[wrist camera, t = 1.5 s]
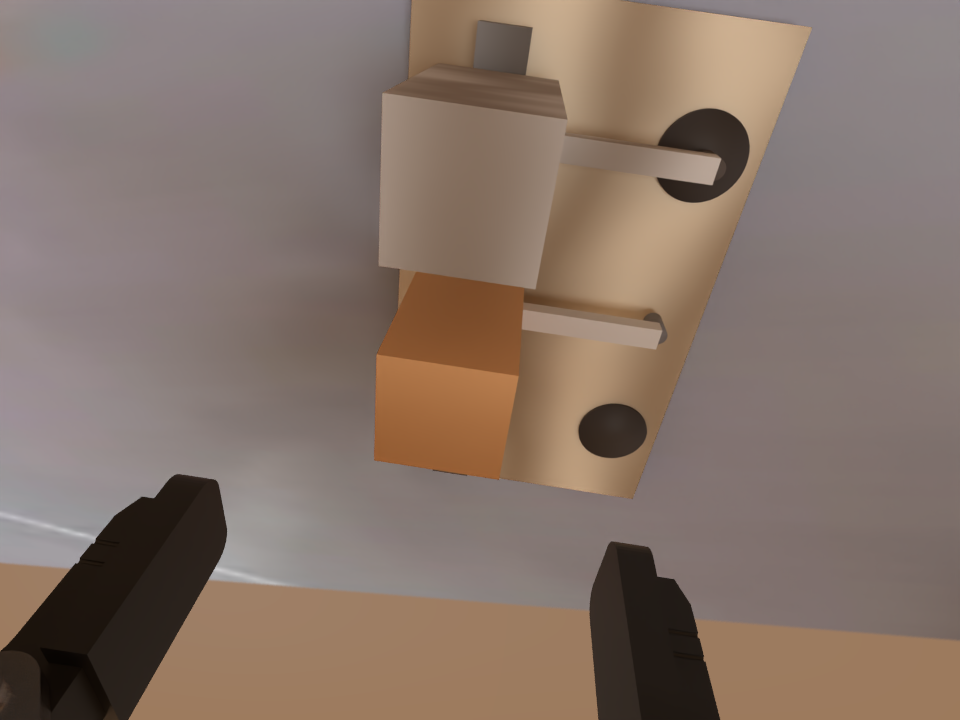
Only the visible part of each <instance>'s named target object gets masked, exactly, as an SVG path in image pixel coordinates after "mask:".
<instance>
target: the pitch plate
mask: <svg viewBox="0 0 960 720" xmlns="http://www.w3.org/2000/svg"><path fill="white" fill-rule="evenodd" d="M811 29H812V27H805V26H798V25H791V24H783V23H776V22H769V21H762V20H755V19H748V18H741V17H734V16H727V15H720V14H713V13H706V12H699V11H692V10H685V9H678V8H671V7H664V6H657V5H650V4H643V3H636V2H629V1H621V0H412V7H411V30H410V52H409V74H408V80H406V81H404V82H402V83H400V84H398V85H396V86H394V87H392V88H391V89H389V90H387V91H385V92H383V93H382V133H381V178H380V223H379V266H383V267H389V268H396V269H400V276H399V298H398V309H399V307H400V304H401V302H402V300H403V298H404V296H405V294H406V292H407V290H408V288H409V286H410V284H411V281H412V279H413V277H414V275H415V273H416V272H423V273H429V274H436V275H443V276H449V277H456V278H463V279H469V280H476V281H483V282H489V283H496V284H503V285H509V286H516V287H523V288H524V301H523V302H524V303H531V304H538V305H544V306H551V307H557V308H564V309H571V310H577V311H584V312H591V313H597V314H604V315H611V316H617V317H624V318H630V319H637V320H643V319H644V317H645V316H646V315H647V314H649V313H657V314H659V315H660V316H661V318H662V321H663V323H664V326H665V328H666V331H667V334H668V337H667V339H666V341H665V342H663V343H661V344H658V345H657V348H656V350H655V349H648V348H642V347H635V346H629V345H622V344H615V343H609V342H602V341H596V340H589V339H582V338H576V337H569V336H563V335H556V334H549V333H543V332H536V331H529V330H523V329H522V333H521V349H520V365H519V378H518V383H517V388H516V393H515V399H514V404H513V409H512V414H511V419H510V425H509V430H508V435H507V440H506V446H505V451H504V456H503V461H502V467H501V472H500V477H499V478H502V479H508V480H514V481H521V482H527V483H534V484H540V485H547V486H553V487H559V488H566V489H572V490H579V491H585V492H592V493H598V494H604V495H611V496H617V497H624V498H630V499H633V496H634V494H635V491H636V488H637V486H638V483H639V481H640V478H641V475H642V473H643V470H644V467H645V465H646V462H647V460H648V457H649V454H650V452H651V449H652V446H653V444H654V441H655V439H656V436H657V433H658V431H659V428H660V425H661V423H662V420H663V418H664V415H665V412H666V410H667V407H668V404H669V402H670V399H671V397H672V394H673V391H674V389H675V386H676V383H677V381H678V378H679V376H680V373H681V370H682V368H683V365H684V362H685V360H686V357H687V355H688V352H689V349H690V347H691V344H692V341H693V339H694V336H695V334H696V331H697V328H698V326H699V323H700V320H701V318H702V315H703V313H704V310H705V307H706V305H707V302H708V299H709V297H710V294H711V292H712V289H713V286H714V284H715V281H716V278H717V276H718V273H719V271H720V268H721V265H722V263H723V260H724V257H725V255H726V252H727V250H728V247H729V244H730V242H731V239H732V237H733V234H734V231H735V229H736V226H737V223H738V221H739V218H740V216H741V213H742V210H743V208H744V205H745V202H746V200H747V197H748V195H749V192H750V189H751V187H752V184H753V181H754V179H755V176H756V174H757V171H758V168H759V166H760V163H761V160H762V158H763V155H764V153H765V150H766V147H767V145H768V142H769V139H770V137H771V134H772V132H773V129H774V126H775V124H776V121H777V118H778V116H779V113H780V111H781V108H782V105H783V103H784V100H785V97H786V95H787V92H788V90H789V87H790V84H791V82H792V79H793V76H794V74H795V71H796V69H797V66H798V63H799V61H800V58H801V55H802V53H803V50H804V48H805V45H806V42H807V40H808V37H809V34H810V32H811ZM433 471H439V472H446V471H440V470H433ZM446 473H452V474H459V473H453V472H446ZM459 475H465V474H459ZM465 476H467V475H465Z"/></svg>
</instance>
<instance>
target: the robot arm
mask: <svg viewBox="0 0 960 720" xmlns="http://www.w3.org/2000/svg"><path fill="white" fill-rule="evenodd" d="M226 538H227V526H226V521H225V516H224V510H223V505H222V500H221V494H220V489H219V485H218V482H217V481H216V480H214V479H207V478H201V477H194V476H188V475H181V474H177V475H174V476H173V477H171V478H170V479H169V480H168V481H167V483H166V484H165V485H164V487H163V488H162V489H161V490H160V492H159V493H158V494H157V496H156V497H155V498H147V497H141V498H140V499H138V500H137V501H135V502H134V503H132V504H131V505H129V506H128V507H127V508H125V509H124V510H122V511H121V512H119V513H118V514H116V515H115V516H114V517H113V519H112V520H111V521H110V522H109V523H108V525H107V526H106V527H105V528H104V529H103V531H102V532H101V533H100V534H99V535H98V537H97V538H96V541H95V543H94V544H91V545H90V546H89V548H88V549H87V550H86V551H85V552H84V554H83V555H82V556H81V557H80V561H79V563H78V564H77V563H75V565H74V566H73V567H72V568H71V569H70V571H69V572H68V573H67V574H66V575H65V577H64V578H63V579H62V580H61V582H60V583H59V584H58V585H57V587H56V588H55V589H54V590H53V591H52V593H51V594H50V595H49V596H48V597H47V599H46V600H45V601H44V602H43V603H42V605H41V606H40V607H39V608H38V609H37V611H36V612H35V613H34V614H33V615H32V617H31V618H30V619H29V621H28V622H27V623H26V624H25V625H24V626H23V628H22V629H21V630H20V631H19V632H18V634H17V635H16V636H15V637H14V638H13V639H12V641H11V642H10V643H9V644H8V645H7V646H6V647H5V648H3V649H2V650H1V651H0V720H128V719H129V717H130V716H131V714H132V712H133V710H134V708H135V707H136V705H137V703H138V702H139V700H140V698H141V696H142V695H143V693H144V691H145V689H146V688H147V686H148V684H149V682H150V680H151V679H152V677H153V675H154V674H155V672H156V670H157V668H158V666H159V665H160V663H161V661H162V660H163V658H164V656H165V654H166V653H167V651H168V649H169V647H170V645H171V644H172V642H173V640H174V639H175V637H176V635H177V633H178V632H179V630H180V628H181V626H182V625H183V623H184V621H185V619H186V618H187V616H188V614H189V612H190V611H191V609H192V607H193V605H194V604H195V602H196V600H197V598H198V596H199V595H200V593H201V591H202V590H203V588H204V586H205V584H206V583H207V581H208V579H209V577H210V576H211V574H212V572H213V570H214V569H215V567H216V565H217V563H218V562H219V560H220V558H221V555H222V553H223V550H224V547H225V543H226ZM590 626H591V638H592V650H593V661H594V673H595V684H596V696H597V707H598V719H599V720H720V717H719V714H718V709H717V706H716V702H715V698H714V694H713V690H712V686H711V682H710V678H709V674H708V671H707V666H706V662H704V660H703V657H704V655H703V651H702V647H701V643H700V639H699V638H698V637H697V634H698V631H697V627H696V623H695V619H694V616H693V612H692V608H691V605H690V603H689V601H688V600H687V598H686V597H685V595H684V594H683V592H682V591H681V589H680V588H679V586H678V585H677V583H676V581H675V580H674V579H669V578H662V577H657V574H656V569H655V564H654V559H653V555H652V552H651V550H650V548H649V547H645V546H639V545H632V544H625V543H619V542H610V543H609V545H608V547H607V550H606V553H605V555H604V558H603V560H602V563H601V566H600V568H599V571H598V574H597V576H596V579H595V582H594V584H593V587H592V592H591V598H590Z"/></svg>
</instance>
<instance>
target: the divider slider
mask: <svg viewBox="0 0 960 720" xmlns="http://www.w3.org/2000/svg"><path fill="white" fill-rule="evenodd" d="M523 301H524V288H523V287H516V286H509V285H503V284H496V283H489V282H483V281H476V280H469V279H463V278H456V277H449V276H443V275H436V274H429V273H423V272H416V273H415V275H414V277H413V279H412V281H411V284H410V286H409V288H408V290H407V292H406V294H405V296H404V298H403V300H402V302H401V304H400V307H399V309H398V311H397V313H396V315H395V317H394V319H393V321H392V323H391V325H390V327H389V330H388V332H387V334H386V336H385V338H384V340H383V342H382V344H381V346H380V348H379V350H378V353H377V358H376V403H375V448H374V460H375V461H382V462H388V463H395V464H401V465H408V466H414V467H420V468H427V469H433V470H440V471H446V472H453V473H459V474H465V475H472V476H478V477H485V478H491V479H498V480H499V477H500V472H501V467H502V461H503V456H504V451H505V446H506V440H507V435H508V430H509V425H510V419H511V414H512V409H513V404H514V399H515V393H516V388H517V383H518V378H519V365H520V349H521V333H522V329H523V330H529V331H536V332H543V333H549V334H556V335H563V336H569V337H576V338H582V339H589V340H596V341H602V342H609V343H615V344H622V345H629V346H635V347H642V348H648V349H655V350H656V348H657V345H658V344H661V343H663V342H665V341H666V339H667V337H668V334H667V331H666V328H665V326H664V323H663V321H662V318H661V316H660V315H659V314H657V313H649V314H647V315H646V316H645V317H644V319H643V320H637V319H630V318H624V317H617V316H611V315H604V314H597V313H591V312H584V311H577V310H571V309H564V308H557V307H551V306H544V305H538V304H531V303H524V302H523Z"/></svg>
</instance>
